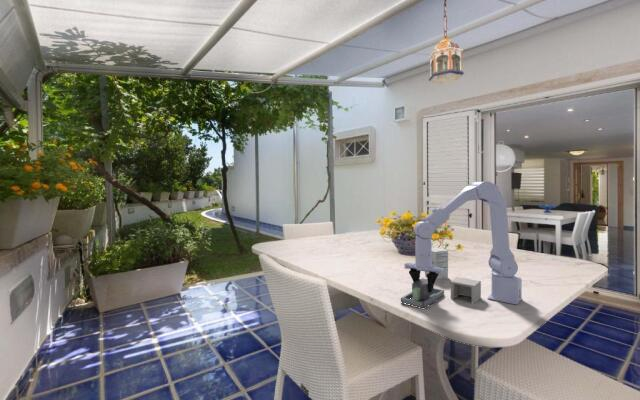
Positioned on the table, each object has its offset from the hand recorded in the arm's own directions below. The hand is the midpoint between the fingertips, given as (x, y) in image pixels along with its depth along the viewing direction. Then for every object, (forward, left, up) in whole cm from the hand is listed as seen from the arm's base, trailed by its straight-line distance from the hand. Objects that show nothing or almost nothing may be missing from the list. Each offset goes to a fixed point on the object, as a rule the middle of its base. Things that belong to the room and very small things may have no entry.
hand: (423, 290), depth 123 cm
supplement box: (+8, -30, -3) cm, 31 cm away
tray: (0, +1, -3) cm, 3 cm away
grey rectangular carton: (0, +2, -2) cm, 2 cm away
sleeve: (-11, -10, -3) cm, 16 cm away
